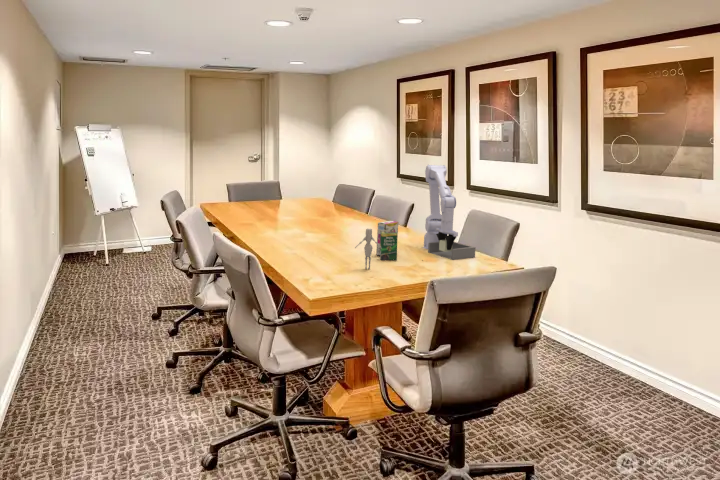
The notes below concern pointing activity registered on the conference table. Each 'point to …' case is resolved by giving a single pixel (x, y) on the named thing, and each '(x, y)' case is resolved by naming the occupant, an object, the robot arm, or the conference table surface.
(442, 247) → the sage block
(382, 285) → the conference table surface
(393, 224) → the candy bar box
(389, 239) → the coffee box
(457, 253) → the open box
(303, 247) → the conference table surface
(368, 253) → the human figurine
